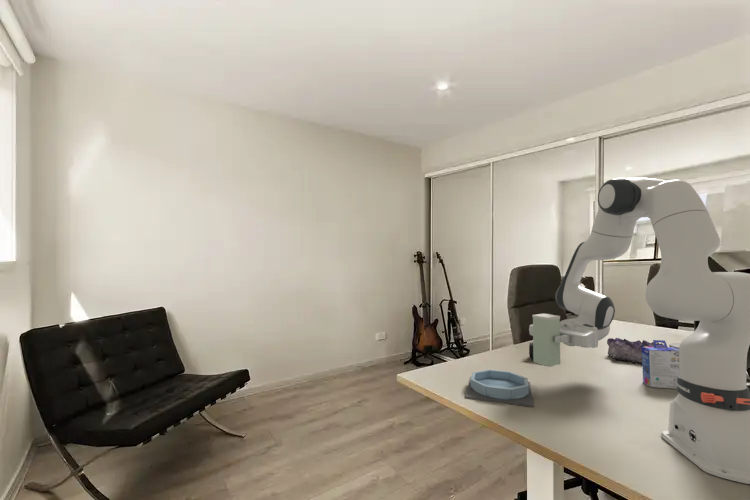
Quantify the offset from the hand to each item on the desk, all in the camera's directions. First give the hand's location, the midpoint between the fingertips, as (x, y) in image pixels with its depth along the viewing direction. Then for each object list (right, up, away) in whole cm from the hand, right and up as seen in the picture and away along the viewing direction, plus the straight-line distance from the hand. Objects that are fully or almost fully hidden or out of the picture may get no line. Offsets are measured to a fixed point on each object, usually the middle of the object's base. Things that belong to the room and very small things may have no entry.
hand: (544, 337), depth 113 cm
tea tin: (+1, -8, 0) cm, 8 cm away
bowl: (-14, -17, +1) cm, 22 cm away
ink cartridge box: (+40, -17, +4) cm, 44 cm away
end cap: (+15, -18, +32) cm, 40 cm away
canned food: (+54, -17, +11) cm, 58 cm away
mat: (-14, -17, +1) cm, 22 cm away
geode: (+52, -17, +31) cm, 63 cm away
